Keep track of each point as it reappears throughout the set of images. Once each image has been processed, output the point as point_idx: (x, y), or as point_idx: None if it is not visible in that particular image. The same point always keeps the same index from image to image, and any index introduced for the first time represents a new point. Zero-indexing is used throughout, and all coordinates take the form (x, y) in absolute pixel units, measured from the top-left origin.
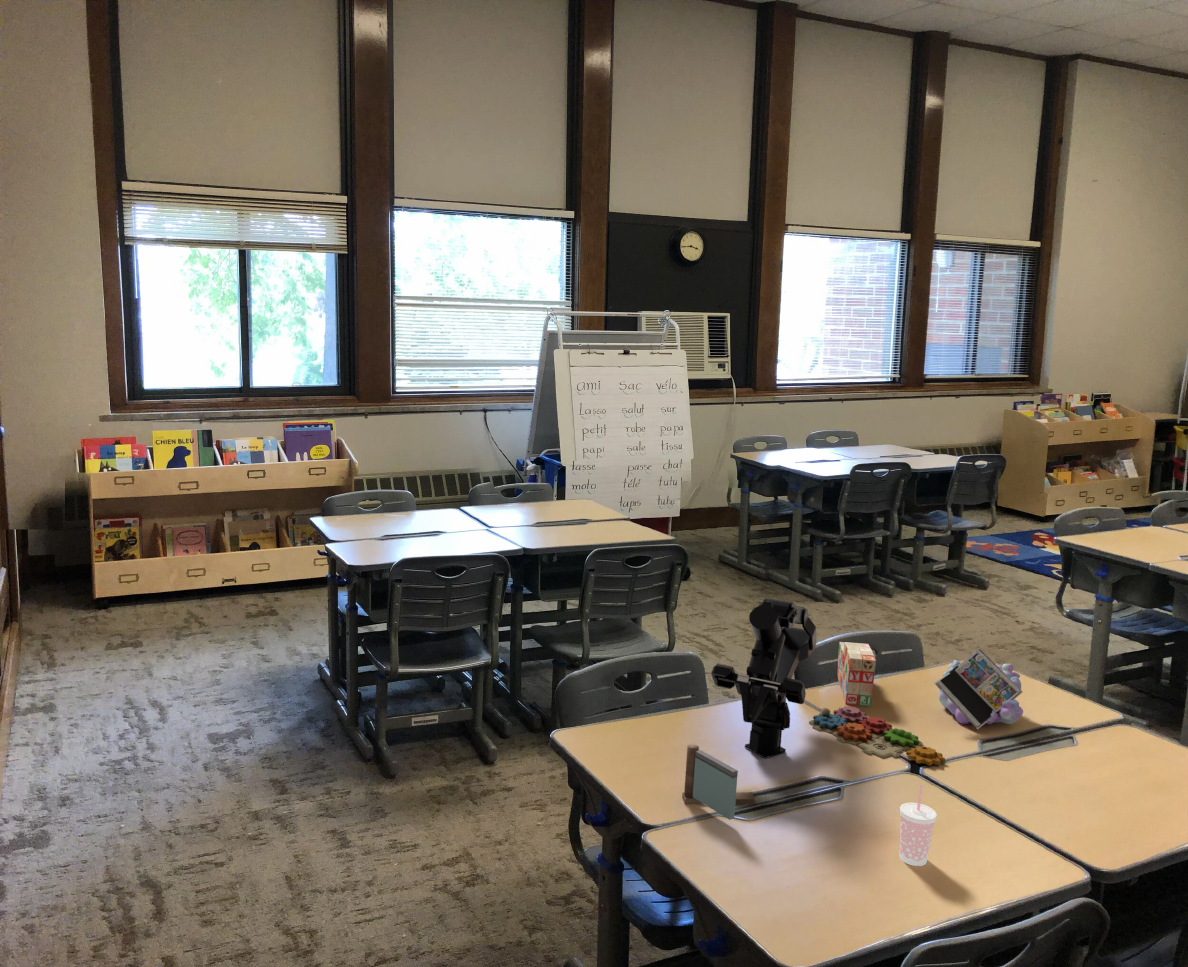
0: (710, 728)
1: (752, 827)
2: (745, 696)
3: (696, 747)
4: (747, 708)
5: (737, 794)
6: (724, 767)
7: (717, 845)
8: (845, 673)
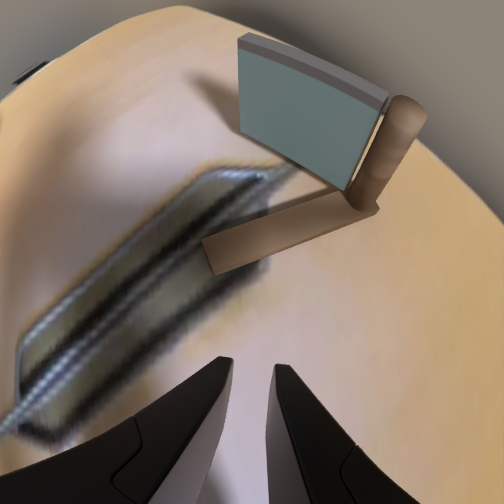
0: None
1: (201, 149)
2: (338, 490)
3: (399, 105)
4: (277, 439)
5: (250, 246)
6: (276, 42)
7: None
8: None
